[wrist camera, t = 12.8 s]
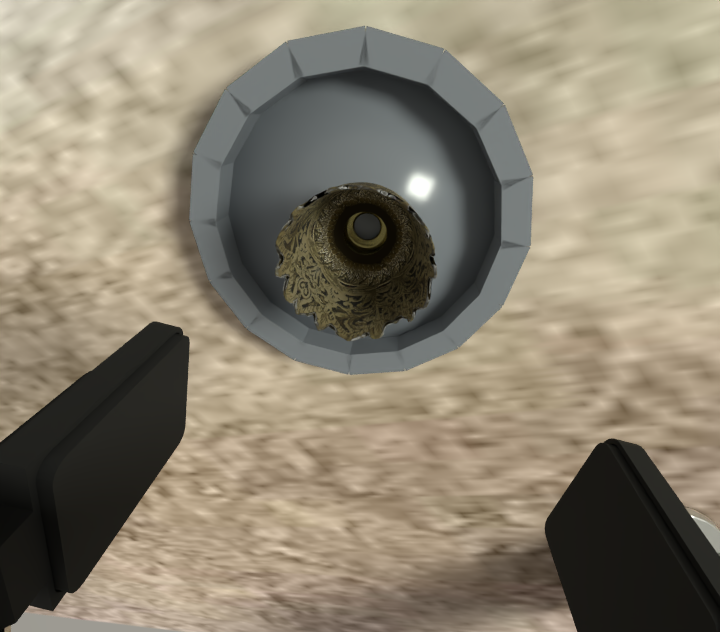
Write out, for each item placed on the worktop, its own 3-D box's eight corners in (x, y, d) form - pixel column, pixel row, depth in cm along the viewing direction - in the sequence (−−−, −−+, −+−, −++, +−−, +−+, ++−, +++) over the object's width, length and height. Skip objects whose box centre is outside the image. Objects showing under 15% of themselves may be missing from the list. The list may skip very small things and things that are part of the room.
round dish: (454, 384, 31) (459, 406, 29) (196, 315, 31) (179, 332, 28) (585, 92, 22) (607, 91, 20) (220, -14, 21) (198, -29, 19)
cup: (344, 298, 28) (325, 363, 21) (286, 201, 25) (241, 237, 18) (446, 251, 26) (463, 304, 19) (394, 139, 23) (391, 152, 16)
